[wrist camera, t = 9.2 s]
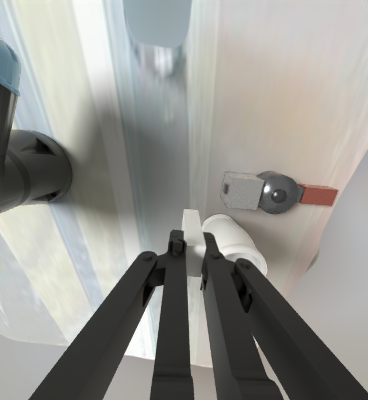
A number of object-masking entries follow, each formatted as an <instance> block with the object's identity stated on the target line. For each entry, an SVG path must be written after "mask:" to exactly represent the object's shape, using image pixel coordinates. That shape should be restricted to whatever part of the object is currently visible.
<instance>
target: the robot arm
mask: <svg viewBox="0 0 368 400" xmlns="http://www.w3.org/2000/svg"><path fill="white" fill-rule="evenodd" d="M20 73H21V64H20V60H19V58H18V56H17V55H16V53H15V52H14V50H13V49H12V48H11V47H10V46H9V45H8V44H7V43H5V42H4V41H3V40H1V39H0V213H2V212H5V211H7V210H9V209H12V208H14V207H16V206H19V205H32V204H44V203H48V202H51V201H53V200H55V199H58V198H60V197H61V196H63V195H64V194H65V193H66V192H67V191H68V189H69V187H70V185H71V181H72V170H71V165H70V162H69V160H68V158H67V156H66V154H65V153H64V151H63V150H62V149H61V148H60V147H59V146H58V145H57V144H56V143H55V142H54V141H53V140H52V139H50V138H49V137H47V136H45V135H43V134H41V133H38V132H35V131H30V130H11V128H12V123H13V118H14V113H15V108H16V104H17V99H18V96H19V97H20V92H19V81H20ZM201 274H202V276H203V277H202V282H201V288H200V290H202V289H203V297H204V304H205V311H206V319H207V326H208V334H209V341H210V349H211V356H212V363H213V371H214V378H215V386H216V393H217V400H284V399H283V396H282V394H281V392H280V390H279V388H278V386H277V385H276V383H275V382H274V381H272V380H270V379H269V378H268V376H267V374H266V372H265V369H264V366H263V364H262V361H261V358H260V355H259V352H258V349H257V347H256V344H255V341H254V338H255V339H256V341H257V343H258V345H259V346H260V348H261V350H262V352H263V353H264V355H265V357H266V359H267V360H268V362H269V364H270V366H271V367H272V369H273V371H274V373H275V374H276V376H277V378H278V380H279V381H280V383H281V385H282V387H283V388H284V390H285V392H286V394H287V395H288V397H289V399H290V400H368V393H367V391H366V390H365V389H364V388H363V387H362V386H361V384H360V383H359V382H358V381H357V380H356V379H355V378H354V377H353V375H352V374H351V373H350V372H349V371H348V370H347V369H346V368H345V366H344V365H343V364H342V363H341V362H340V361H339V360H338V359H337V357H336V356H335V355H334V354H333V353H332V352H331V351H330V349H329V348H328V347H327V346H326V345H325V344H324V343H323V342H322V340H321V339H320V338H319V337H318V336H317V335H316V334H315V333H314V332H313V330H312V329H311V328H310V327H309V326H308V325H307V324H306V323H305V321H304V320H303V319H302V318H301V317H300V316H299V315H298V313H296V311H295V310H294V309H293V308H292V307H291V306H290V304H289V303H288V302H287V301H286V300H285V299H284V298H283V296H282V295H281V294H280V293H279V292H278V291H277V290H276V289H275V287H274V286H273V285H272V284H271V283H270V282H269V281H268V280H267V278H266V277H265V276H264V275H263V274H262V273H261V272H260V271H259V269H258V268H257V267H256V266H255V265H254V264H253V263H252V262H251V261H249V260H248V259H245V258H238V259H236V261H235V262H233V261H230V260H227V259H225V257H224V255H223V254H222V253H221V252H219V249H218V246H217V243H216V240H215V237H214V235H213V234H212V233H210V232H203V231H202V226H201V222H200V217H199V213H198V210H192V209H184V213H183V222H182V231H181V230H172V231H171V232H170V239H169V243H168V251H167V253H165V254H163V255H160V256H157V254H156V253H154V252H151V251H146V252H142V253H141V254H140V255H139V256H138V257H137V258H136V259H135V261H134V262H133V263H132V265H131V266H130V267H129V269H128V270H127V271H126V273H125V274H124V275H123V276H122V278H121V279H120V280H119V282H118V283H117V284H116V286H115V287H114V288H113V290H112V291H111V292H110V294H109V295H108V296H107V297H106V299H105V300H104V301H103V303H102V304H101V305H100V307H99V308H98V309H97V311H96V312H95V313H94V314H93V316H92V317H91V318H90V320H89V321H88V322H87V324H86V325H85V326H84V328H83V329H82V330H81V331H80V333H79V334H78V335H77V337H76V338H75V339H74V341H73V342H72V343H71V345H70V346H69V347H68V348H67V350H66V351H65V352H64V354H63V355H62V356H61V358H60V359H59V360H58V362H57V363H56V364H55V366H54V367H53V368H52V369H51V371H50V372H49V373H48V375H47V376H46V377H45V379H44V380H43V381H42V383H41V384H40V385H39V386H38V388H37V389H36V390H35V392H34V393H33V394H32V396H31V397H30V398H29V400H102V399H103V398H104V395H105V393H106V391H107V389H108V387H109V385H110V383H111V381H112V378H113V376H114V374H115V372H116V370H117V368H118V366H119V364H120V362H121V360H122V358H123V355H124V353H125V351H126V349H127V347H128V345H129V343H130V341H131V339H132V337H133V334H134V332H135V330H136V328H137V326H138V324H139V322H140V320H141V318H142V315H143V313H144V311H145V309H146V307H147V305H148V303H149V301H150V299H151V297H152V294H153V292H154V290H155V287H156V286H161V285H164V288H163V296H162V305H161V313H160V322H159V330H158V339H157V347H156V356H155V364H154V372H153V378H152V386H151V394H150V400H194V387H193V379H192V376H191V370H190V346H189V321H188V296H187V276H194V277H201ZM251 332H252V333H251ZM252 334H253V335H252ZM253 336H254V338H253Z"/></svg>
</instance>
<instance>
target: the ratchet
mask: <svg viewBox="0 0 368 400" xmlns="http://www.w3.org/2000/svg"><path fill="white" fill-rule="evenodd" d="M256 177H258V178H260V179H262V180H264V184H263V188H262V191H261V195H260V199H259V203H258V206H259V207H260V208H262V209H263V210H264V211H265V212H267V213H270V214H279V213H283V212H285V211H287V210H288V209H290V208H291V207H292V206H293V205H294V203H295V202H296V201H298V202H300V203H307V204H318V205H329V206H332V204H333V201H334V199H335V196H336V194H337V192H338V190H336V189H333V188H330V187H326V186H315V185H305V184H298V185H297V183H296V182H295V181H294V180H293V179H291V178H289V177H287V176H284V175H281V174H279V173H276V172H272V171H268V172H263V173H261V174H259V175H257V176H256Z"/></svg>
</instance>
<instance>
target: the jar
mask: <svg viewBox="0 0 368 400" xmlns="http://www.w3.org/2000/svg"><path fill="white" fill-rule="evenodd" d="M202 231H203V232H210V233H212V234H213V235H214V237H215V240H216V243H217V246H218V249H219V252H221V253H222V254H223V255H224V257H225V259H227V260H230V261H233V262H235V261H236V259H238V258H245V259H248V260H249V261H251V262H252V263H253V264H254V265H255V266H256V267H257V268H258V269H259V271H260V272H261V273H262V274H263V275H264V276H265V277H266V274H267V264H266V261H265V259H264V257H263V256H262V254H261V253H260V252H259V251H258V250H257V249H256V246H255V244H254V242H253V241H252V239H251V237H250V236H249V235H248V234H247V233H246V232H245V231H244V230H243V229H242V228H241V227H240V226H239V225H238V224H236V223H235V222H234V220H233V219H232V218H231V217H229V216H227V215H224V214H216V215H213V216H211V217H209V218H208V219H207V220H206V221H205V222H204V223H203V225H202Z"/></svg>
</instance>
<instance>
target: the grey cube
mask: <svg viewBox="0 0 368 400" xmlns="http://www.w3.org/2000/svg"><path fill="white" fill-rule="evenodd" d="M263 184H264V180H262V179H260V178H258V177H256V176H254V175H252V174H244V173H233V172H225V175H224V181H223V187H222V192H221V199H222V201H223V202H224V204H225V205H226V207H228V208H239V209H251V210H257V207H258V203H259V199H260V195H261V191H262V188H263Z"/></svg>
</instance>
